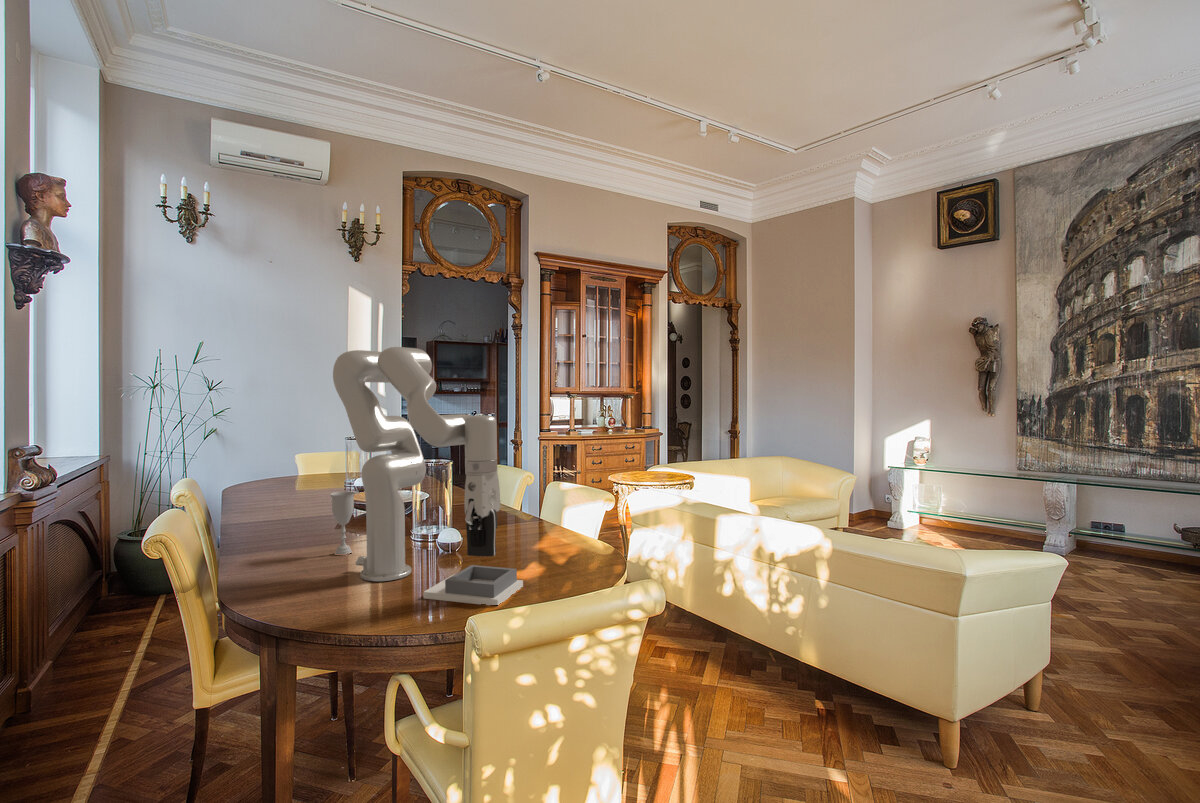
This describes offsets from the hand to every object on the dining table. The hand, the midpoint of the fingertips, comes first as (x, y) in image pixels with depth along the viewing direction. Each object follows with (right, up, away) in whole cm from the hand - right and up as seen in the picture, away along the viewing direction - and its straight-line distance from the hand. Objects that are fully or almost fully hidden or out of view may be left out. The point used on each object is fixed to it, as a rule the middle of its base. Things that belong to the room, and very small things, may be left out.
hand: (482, 543), depth 142 cm
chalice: (-48, -12, +35) cm, 61 cm away
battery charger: (0, -3, 0) cm, 3 cm away
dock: (-2, -12, +1) cm, 12 cm away
